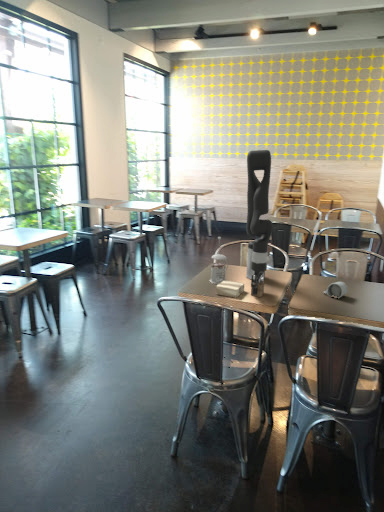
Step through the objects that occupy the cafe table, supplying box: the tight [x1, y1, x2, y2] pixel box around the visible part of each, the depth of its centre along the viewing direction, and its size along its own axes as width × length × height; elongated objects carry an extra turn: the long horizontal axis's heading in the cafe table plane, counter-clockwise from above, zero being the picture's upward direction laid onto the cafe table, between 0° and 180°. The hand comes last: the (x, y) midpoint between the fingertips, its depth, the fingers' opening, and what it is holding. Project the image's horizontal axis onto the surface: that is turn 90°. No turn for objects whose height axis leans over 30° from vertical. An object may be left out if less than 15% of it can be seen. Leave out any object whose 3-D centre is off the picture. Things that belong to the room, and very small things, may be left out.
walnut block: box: [250, 281, 265, 298], centre depth 189 cm, size 5×5×6 cm
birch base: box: [215, 279, 245, 298], centre depth 192 cm, size 11×11×4 cm
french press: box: [208, 236, 229, 285], centre depth 206 cm, size 10×12×25 cm
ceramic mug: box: [322, 281, 348, 299], centre depth 189 cm, size 11×8×8 cm
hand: (257, 291), depth 190 cm, fingers open, 8 cm apart
